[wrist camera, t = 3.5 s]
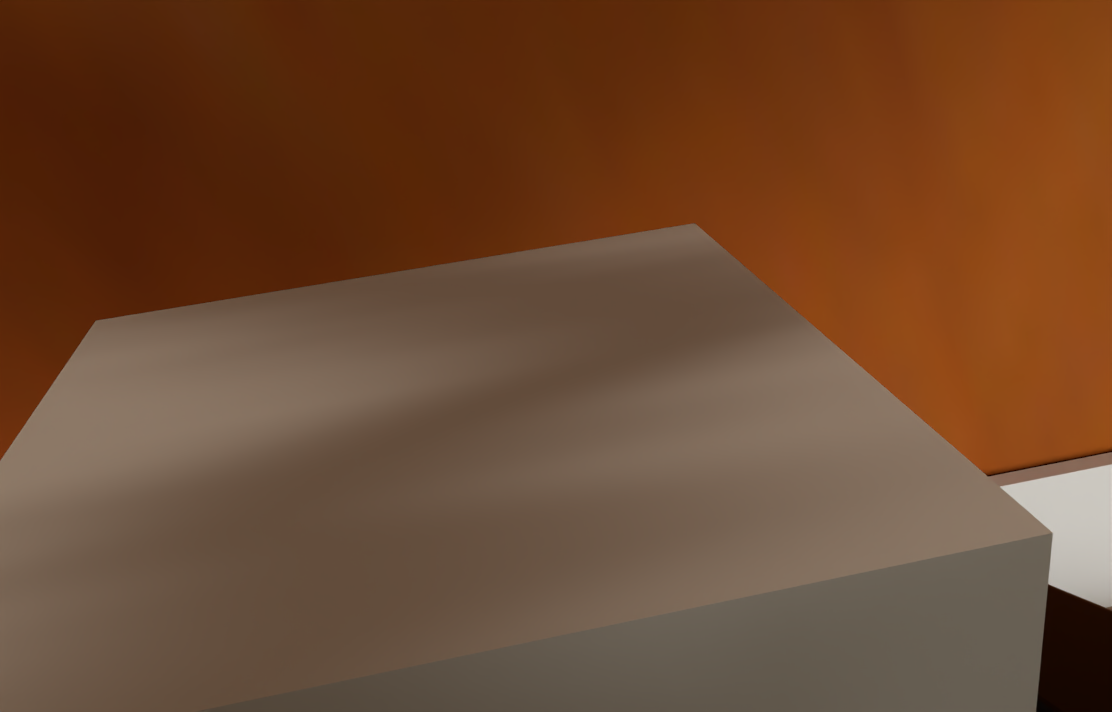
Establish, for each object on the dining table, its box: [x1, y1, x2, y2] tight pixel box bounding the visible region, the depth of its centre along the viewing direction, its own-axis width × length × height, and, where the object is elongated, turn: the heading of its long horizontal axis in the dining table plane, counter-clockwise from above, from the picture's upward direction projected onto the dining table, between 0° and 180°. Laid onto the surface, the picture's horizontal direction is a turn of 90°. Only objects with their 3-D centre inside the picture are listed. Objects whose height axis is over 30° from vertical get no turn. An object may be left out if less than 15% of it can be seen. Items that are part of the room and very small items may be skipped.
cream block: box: [0, 223, 1053, 712], centre depth 7 cm, size 5×5×5 cm
